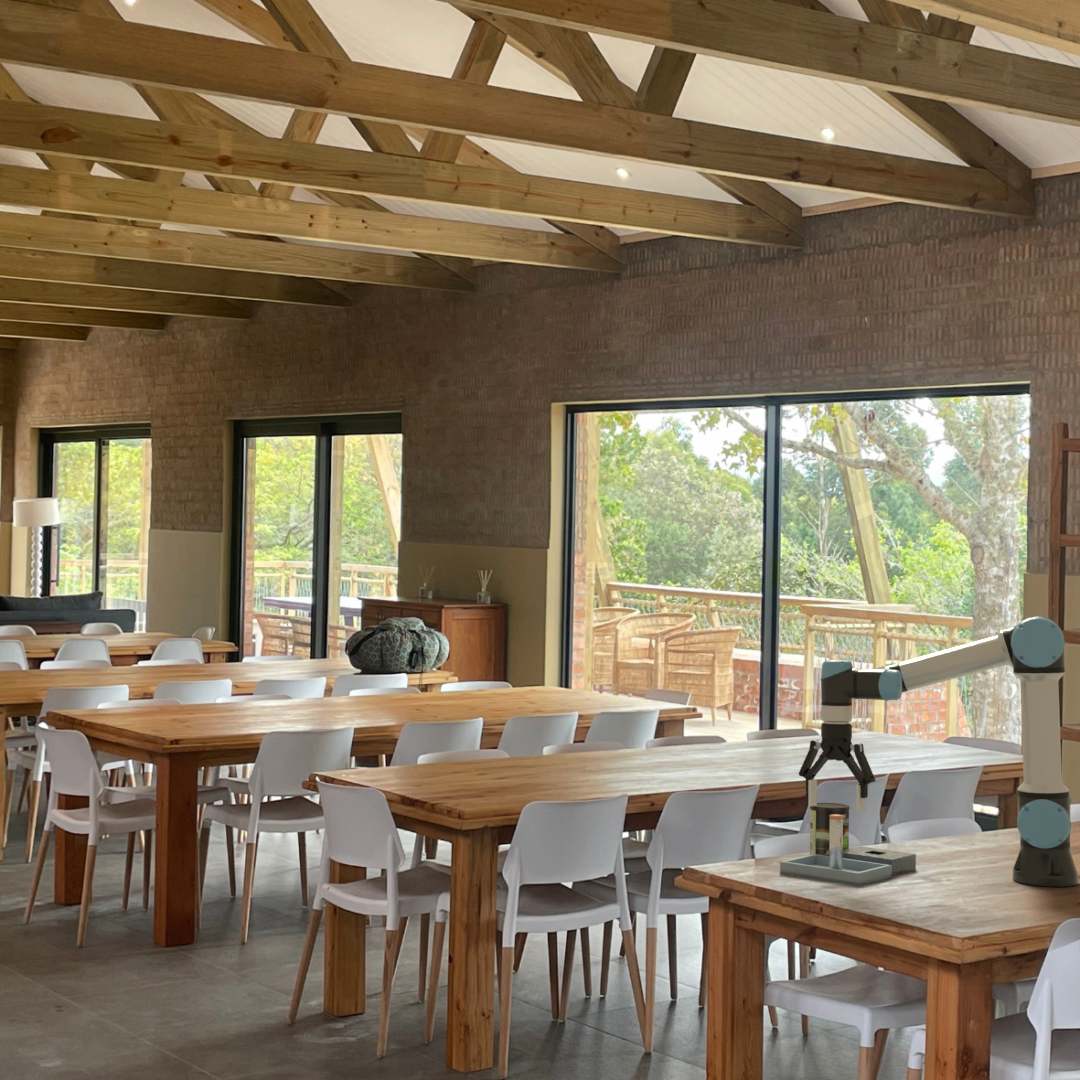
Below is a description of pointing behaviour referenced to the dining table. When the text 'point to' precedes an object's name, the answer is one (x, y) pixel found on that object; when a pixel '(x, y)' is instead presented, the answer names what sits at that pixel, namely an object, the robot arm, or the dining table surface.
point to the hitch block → (883, 858)
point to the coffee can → (826, 826)
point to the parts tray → (836, 870)
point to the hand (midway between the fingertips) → (836, 808)
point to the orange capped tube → (836, 842)
